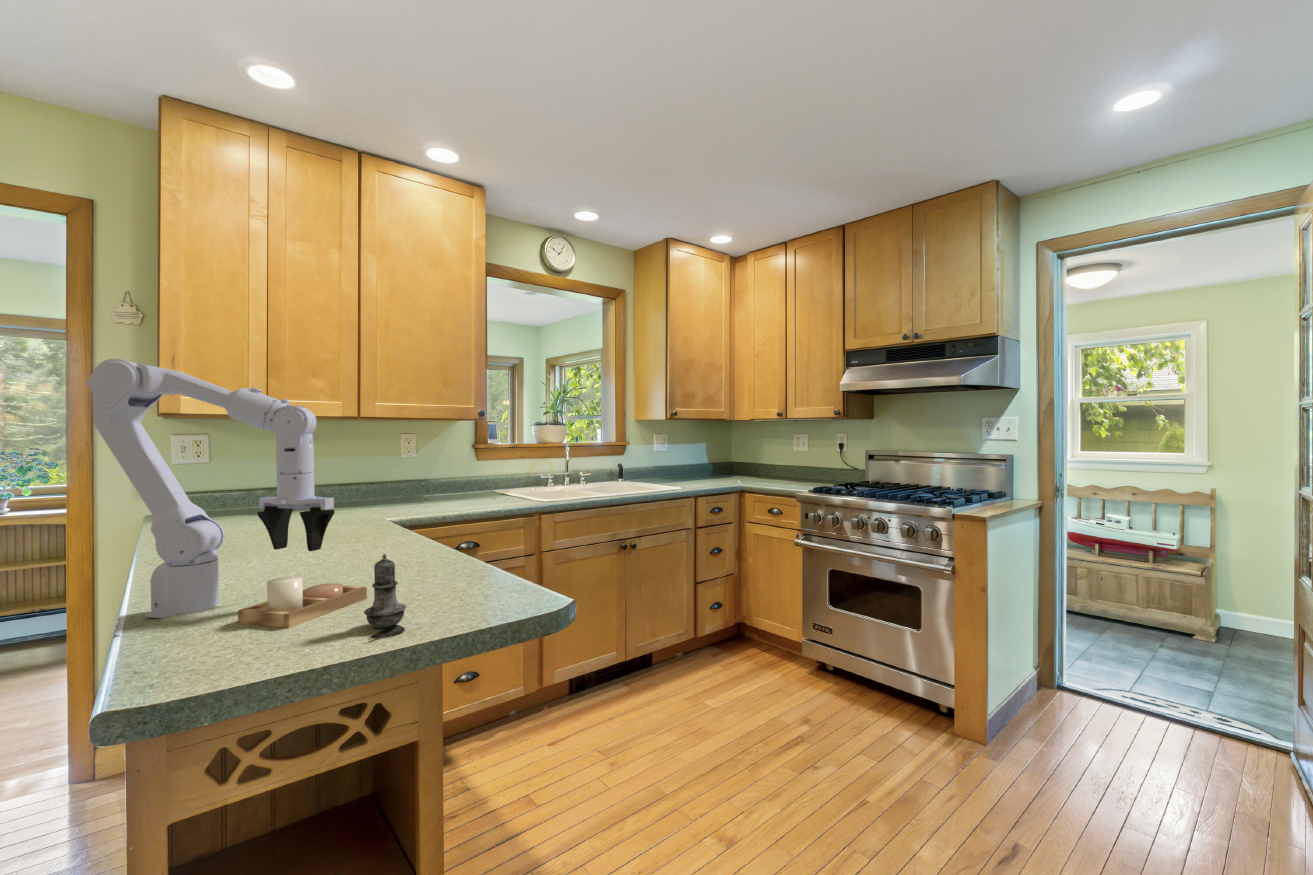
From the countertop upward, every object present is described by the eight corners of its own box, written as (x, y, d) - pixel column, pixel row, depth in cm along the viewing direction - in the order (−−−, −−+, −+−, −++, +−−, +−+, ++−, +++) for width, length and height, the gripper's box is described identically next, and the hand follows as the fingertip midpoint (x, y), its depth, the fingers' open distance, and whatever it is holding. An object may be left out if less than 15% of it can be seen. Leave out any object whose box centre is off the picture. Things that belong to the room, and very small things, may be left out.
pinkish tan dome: (298, 607, 100) (297, 590, 100) (324, 597, 105) (324, 582, 105) (324, 609, 99) (324, 592, 99) (350, 599, 104) (350, 584, 104)
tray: (238, 629, 92) (237, 610, 92) (321, 600, 107) (320, 584, 107) (289, 634, 89) (289, 614, 89) (367, 603, 105) (366, 587, 105)
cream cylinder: (260, 620, 93) (259, 582, 93) (287, 611, 98) (287, 575, 97) (283, 623, 91) (282, 584, 91) (310, 613, 96) (309, 577, 96)
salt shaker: (390, 640, 86) (388, 558, 86) (355, 637, 87) (353, 557, 87) (414, 626, 92) (413, 550, 92) (381, 624, 93) (380, 549, 93)
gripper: (242, 474, 103) (244, 552, 103) (309, 475, 99) (311, 555, 99) (278, 471, 110) (279, 544, 110) (342, 472, 106) (344, 547, 106)
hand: (297, 549), depth 105 cm, fingers open, 7 cm apart
